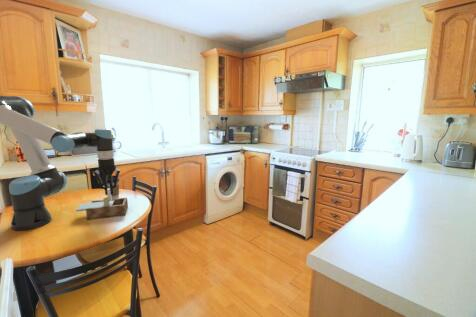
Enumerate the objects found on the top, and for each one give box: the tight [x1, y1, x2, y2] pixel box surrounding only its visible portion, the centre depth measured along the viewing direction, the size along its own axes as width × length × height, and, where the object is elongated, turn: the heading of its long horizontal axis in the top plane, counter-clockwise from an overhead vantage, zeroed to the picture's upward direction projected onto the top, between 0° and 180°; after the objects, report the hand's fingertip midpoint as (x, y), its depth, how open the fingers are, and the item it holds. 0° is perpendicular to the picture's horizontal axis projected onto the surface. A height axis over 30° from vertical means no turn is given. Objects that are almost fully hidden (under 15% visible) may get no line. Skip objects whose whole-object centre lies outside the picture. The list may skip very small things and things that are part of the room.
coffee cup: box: [107, 175, 120, 199], centre depth 148 cm, size 8×8×15 cm
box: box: [85, 197, 129, 221], centre depth 130 cm, size 18×12×6 cm, turn 108°
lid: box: [75, 195, 114, 212], centre depth 127 cm, size 16×9×5 cm, turn 108°
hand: (110, 200), depth 129 cm, fingers closed
